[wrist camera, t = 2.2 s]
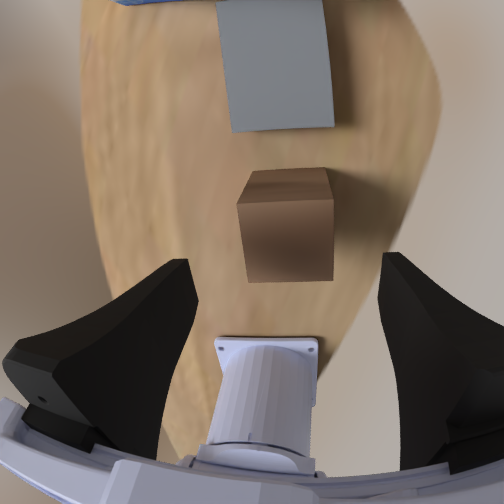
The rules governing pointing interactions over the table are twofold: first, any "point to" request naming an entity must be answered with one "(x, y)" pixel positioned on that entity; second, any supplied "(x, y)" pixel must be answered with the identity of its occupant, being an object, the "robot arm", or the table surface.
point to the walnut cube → (287, 225)
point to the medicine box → (138, 1)
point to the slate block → (275, 64)
